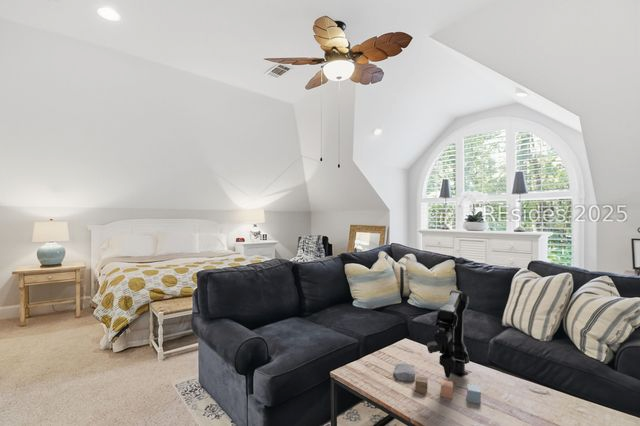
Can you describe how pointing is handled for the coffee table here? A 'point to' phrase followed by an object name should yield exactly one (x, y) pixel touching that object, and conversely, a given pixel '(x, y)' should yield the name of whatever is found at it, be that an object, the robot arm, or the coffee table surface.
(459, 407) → the coffee table surface
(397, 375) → the stone block
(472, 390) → the slate blue block
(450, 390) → the terracotta block
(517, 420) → the coffee table surface
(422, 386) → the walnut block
